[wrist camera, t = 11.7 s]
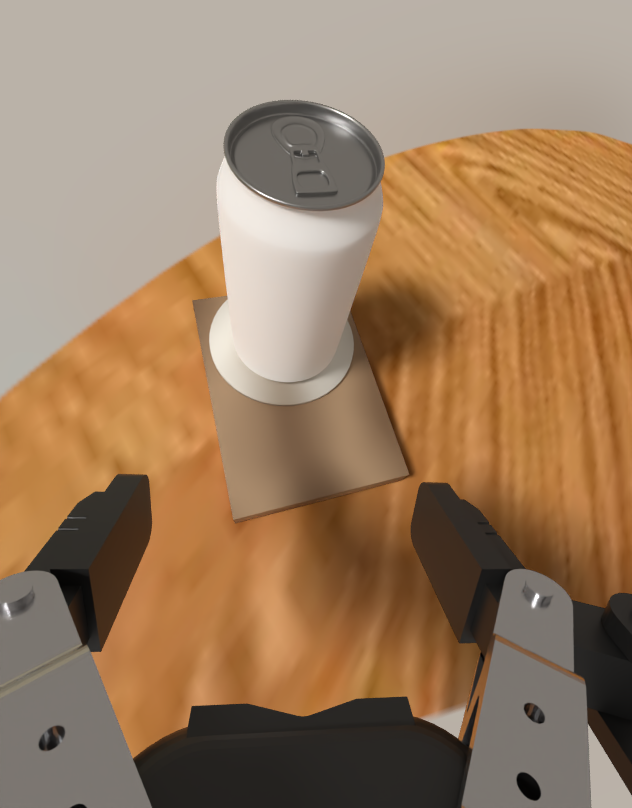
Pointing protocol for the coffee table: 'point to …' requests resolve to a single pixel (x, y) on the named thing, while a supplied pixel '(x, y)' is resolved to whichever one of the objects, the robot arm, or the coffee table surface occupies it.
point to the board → (295, 424)
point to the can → (295, 231)
